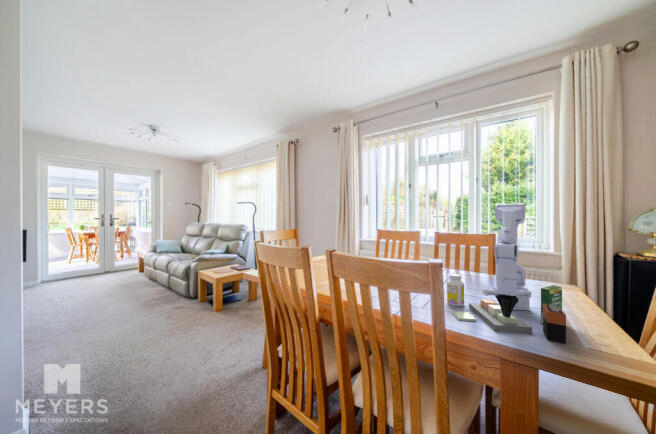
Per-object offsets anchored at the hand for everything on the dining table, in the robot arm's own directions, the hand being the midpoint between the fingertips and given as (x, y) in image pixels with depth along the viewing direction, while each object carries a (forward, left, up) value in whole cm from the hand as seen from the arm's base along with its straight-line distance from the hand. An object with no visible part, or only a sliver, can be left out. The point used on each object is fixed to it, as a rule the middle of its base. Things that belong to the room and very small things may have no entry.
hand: (506, 316), depth 82 cm
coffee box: (-18, -5, -4) cm, 19 cm away
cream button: (0, -6, -2) cm, 6 cm away
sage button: (0, 0, -3) cm, 3 cm away
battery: (-11, +6, -4) cm, 13 cm away
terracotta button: (0, -12, -2) cm, 12 cm away
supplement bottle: (+9, -20, -4) cm, 22 cm away
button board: (0, -6, -4) cm, 7 cm away
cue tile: (+11, -6, -4) cm, 13 cm away
